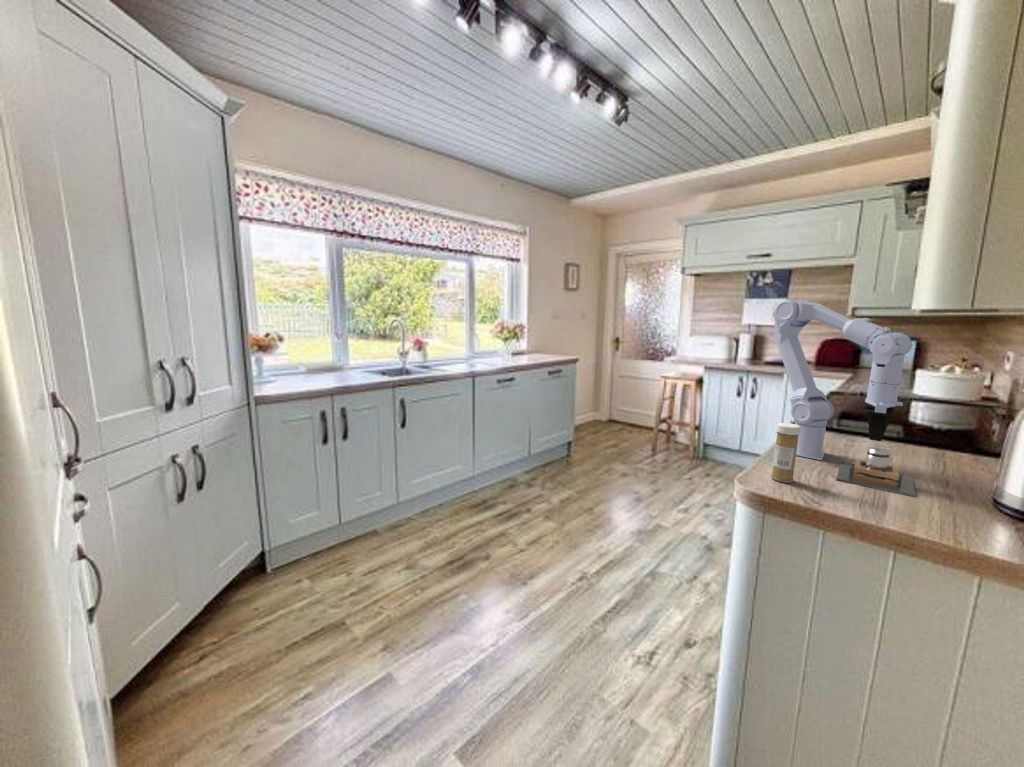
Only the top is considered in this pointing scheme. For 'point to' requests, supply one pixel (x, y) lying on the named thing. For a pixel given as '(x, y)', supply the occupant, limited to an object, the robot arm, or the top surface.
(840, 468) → the collar stand
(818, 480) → the top surface
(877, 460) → the metal cylinder
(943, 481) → the top surface
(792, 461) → the sprinkles bottle
